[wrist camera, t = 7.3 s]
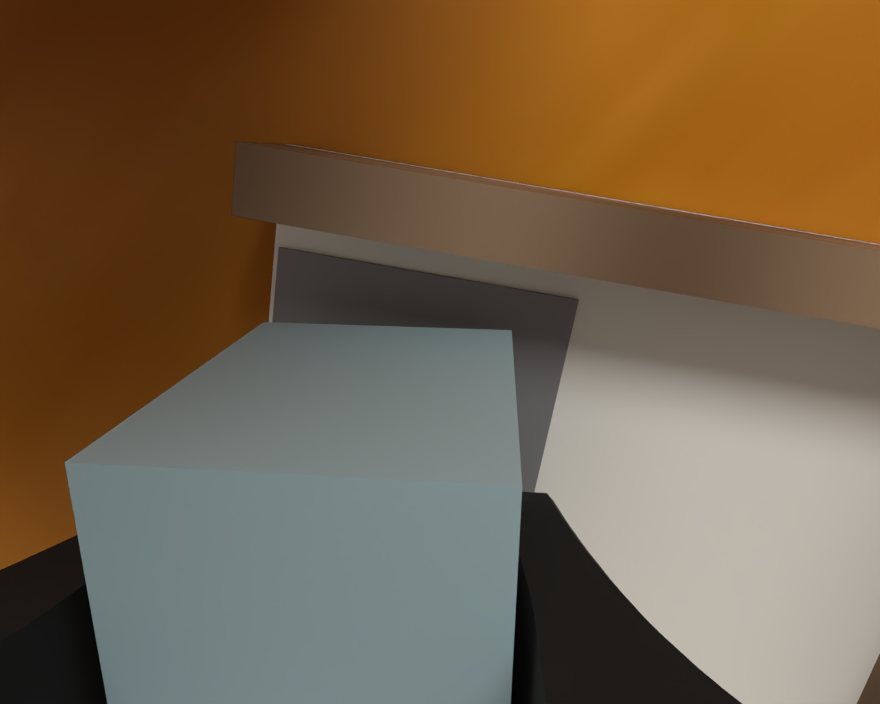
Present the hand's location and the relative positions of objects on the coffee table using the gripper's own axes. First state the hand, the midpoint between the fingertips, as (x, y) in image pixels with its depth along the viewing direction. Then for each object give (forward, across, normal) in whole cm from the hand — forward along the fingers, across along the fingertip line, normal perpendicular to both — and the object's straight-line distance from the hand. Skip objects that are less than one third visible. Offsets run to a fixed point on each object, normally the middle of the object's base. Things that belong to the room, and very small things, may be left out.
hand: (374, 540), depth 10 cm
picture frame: (+3, -4, 0) cm, 5 cm away
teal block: (+1, 0, 0) cm, 1 cm away
